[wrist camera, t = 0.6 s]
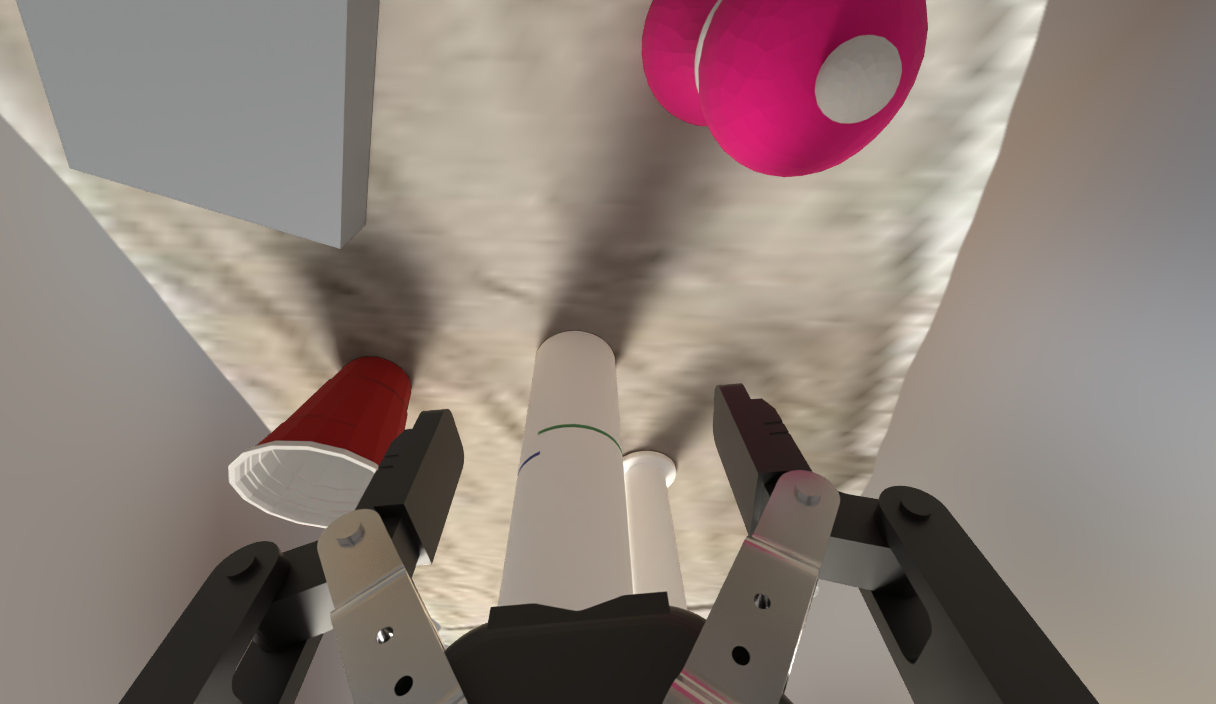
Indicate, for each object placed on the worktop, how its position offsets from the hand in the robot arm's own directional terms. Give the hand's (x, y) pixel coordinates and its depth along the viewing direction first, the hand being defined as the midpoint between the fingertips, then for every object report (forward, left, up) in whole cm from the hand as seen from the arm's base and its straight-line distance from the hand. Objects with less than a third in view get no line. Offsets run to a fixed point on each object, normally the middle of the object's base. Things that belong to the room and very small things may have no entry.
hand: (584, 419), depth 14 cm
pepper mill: (-10, +3, -22) cm, 24 cm away
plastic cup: (+23, -12, -22) cm, 34 cm away
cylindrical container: (+15, +4, -22) cm, 26 cm away
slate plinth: (+1, -21, -22) cm, 30 cm away
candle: (+27, +16, -22) cm, 38 cm away
